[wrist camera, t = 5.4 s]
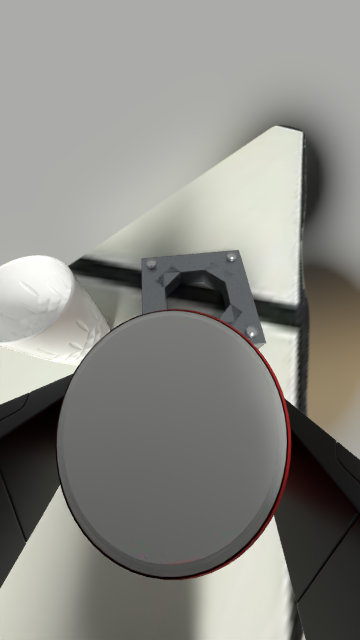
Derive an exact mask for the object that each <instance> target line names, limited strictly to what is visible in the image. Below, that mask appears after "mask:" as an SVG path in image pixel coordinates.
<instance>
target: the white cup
mask: <svg viewBox="0 0 360 640" xmlns="http://www.w3.org/2000/svg"><path fill="white" fill-rule="evenodd" d="M110 331H111V330H110V328H109V326H108V324H107V321H106V320H105V318H104V317H103V316H102V314H101V312H100V310H99V309H98V307H97V306H96V305H95V303H94V302H93V300H92V299H91V297H90V296H89V294H88V293H87V292H86V290H85V289H84V288H83V286H82V285H81V284H80V282H79V281H78V280H77V278H76V277H75V275H74V274H73V273H72V271H71V270H70V269H69V267H68V266H67V265H66V264H64V263H63V262H62V261H60V260H58V259H56V258H54V257H50V256H43V255H33V256H26V257H22V258H18V259H15V260H12V261H10V262H8V263H5V264H4V265H2V266H0V347H3V348H6V349H10V350H14V351H17V352H21V353H24V354H27V355H31V356H34V357H38V358H42V359H46V360H50V361H54V362H61V363H64V364H69V365H76V366H79V364H80V363H81V361H82V360H83V358H84V357H85V356H86V354H87V353H88V352H89V351H90V349H91V348H92V347H93V346H94V345H95V344H96V343H97V342H98V341H99V340H100V339H101V338H102V337H103V336H105V335H106V334H107V333H109V332H110Z"/></svg>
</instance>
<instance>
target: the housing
mask: <svg viewBox="0 0 360 640" xmlns="http://www.w3.org/2000/svg"><path fill="white" fill-rule="evenodd" d="M193 282H205V283H206V284H208V285H210V286H211V287H213V288H214V289H216V290H217V291H219V292H220V293H222V296H223V301H224V305H225V310H226V311H225V312H224V313H223V314H222V316H221V317H220V318H219V319H220V320H222V321H224V322H226V323H227V324H229V325H231V326H232V327H234V328H235V329H236V330H238V331H239V332H241V333H242V334H243V335H244V336H245V337H246V338H248V339H249V340H250V341H251V342H252V343H253V344H254V346H255V347H256V348H257V349H259V348H260V347H261V346H263V345H264V344H265V343H266V341H265V337H264V334H263V331H262V327H261V324H260V320H259V317H258V314H257V310H256V307H255V303H254V300H253V297H252V293H251V290H250V287H249V283H248V280H247V276H246V273H245V270H244V266H243V263H242V259H241V256H240V253H239V250H235V251H223V252H212V253H200V254H189V255H177V256H166V257H154V258H143V259H142V315H143V314H146V313H150V312H154V311H159V310H167V301H166V298H167V297H168V296H169V295H170V294H171V293H172V292H173V291H174V290H175V289H176V288H177V287H178V286H179V285H180V284H182V283H193Z"/></svg>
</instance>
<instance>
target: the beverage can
mask: <svg viewBox="0 0 360 640" xmlns="http://www.w3.org/2000/svg"><path fill="white" fill-rule="evenodd" d="M55 448H56V464H57V471H58V477H59V481H60V485H61V489H62V492H63V495H64V498H65V501H66V503H67V506H68V508H69V510H70V512H71V514H72V516H73V518H74V520H75V522H76V523H77V525H78V526H79V528H80V529H81V531H82V532H83V534H84V535H85V536H86V537H87V539H88V540H89V541H90V542H91V543H92V545H93V546H94V547H96V548H97V549H98V550H99V551H100V552H101V553H102V554H103V555H104V556H106V557H107V558H108V559H110V560H111V561H113V562H114V563H116V564H117V565H119V566H121V567H123V568H125V569H127V570H129V571H131V572H133V573H136V574H139V575H143V576H146V577H151V578H157V579H163V580H184V579H190V578H197V577H200V576H203V575H206V574H209V573H212V572H214V571H216V570H218V569H220V568H222V567H224V566H226V565H228V564H229V563H231V562H232V561H234V560H235V559H237V558H238V557H240V556H241V555H242V554H243V553H244V552H245V551H246V550H247V549H249V548H250V547H251V546H252V545H253V544H254V542H255V541H256V540H257V539H258V538H259V536H260V535H261V534H262V533H263V531H264V530H265V528H266V527H267V525H268V524H269V522H270V521H271V519H272V517H273V515H274V513H275V511H276V509H277V507H278V505H279V503H280V500H281V497H282V495H283V492H284V489H285V485H286V481H287V477H288V472H289V466H290V459H291V429H290V421H289V415H288V410H287V406H286V402H285V399H284V396H283V392H282V390H281V387H280V385H279V382H278V380H277V378H276V376H275V374H274V372H273V370H272V369H271V367H270V365H269V364H268V362H267V361H266V359H265V358H264V356H263V355H262V354H261V353H260V351H259V350H258V349H257V348H256V347H255V346H254V344H253V343H252V342H251V341H250V340H249V339H248V338H246V337H245V336H244V335H243V334H242V333H241V332H239V331H238V330H236V329H235V328H234V327H232V326H231V325H229V324H227V323H226V322H224V321H222V320H220V319H218V318H215V317H213V316H210V315H207V314H204V313H200V312H196V311H191V310H181V309H168V310H159V311H154V312H150V313H146V314H143V315H140V316H137V317H135V318H132V319H130V320H128V321H126V322H124V323H122V324H120V325H119V326H117V327H116V328H114V329H112V330H111V331H110V332H109V333H107V334H106V335H105V336H103V337H102V338H101V339H100V340H99V341H98V342H97V343H96V344H95V345H94V346H93V347H92V348H91V349H90V351H89V352H88V353H87V354H86V356H85V357H84V358H83V360H82V361H81V363H80V364H79V366H78V367H77V369H76V370H75V372H74V374H73V376H72V378H71V380H70V382H69V384H68V387H67V389H66V392H65V394H64V397H63V400H62V404H61V407H60V412H59V416H58V422H57V429H56V445H55Z"/></svg>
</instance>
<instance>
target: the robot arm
mask: <svg viewBox="0 0 360 640" xmlns="http://www.w3.org/2000/svg"><path fill="white" fill-rule="evenodd" d="M72 376H73V374H71V375H69V376H67V377H64V378H62V379H60V380H57V381H55V382H53V383H50V384H48V385H46V386H43V387H41V388H39V389H36V390H34V391H32V392H30V393H27V394H25V395H22V396H20V397H18V398H15V399H13V400H10V401H8V402H6V403H3V404H1V405H0V588H1V586H2V584H3V583H4V581H5V579H6V578H7V576H8V574H9V572H10V571H11V569H12V567H13V565H14V564H15V562H16V560H17V559H18V557H19V555H20V553H21V552H22V550H23V548H24V546H25V545H26V542H27V541H28V539H29V537H30V536H31V534H32V532H33V531H34V529H35V527H36V525H37V524H38V522H39V520H40V518H41V517H42V515H43V513H44V512H45V510H46V508H47V506H48V505H49V503H50V501H51V499H52V498H53V496H54V494H55V493H56V491H57V489H58V487H59V486H60V481H59V477H58V471H57V464H56V448H55V445H56V429H57V422H58V416H59V412H60V407H61V404H62V400H63V397H64V394H65V392H66V389H67V387H68V384H69V382H70V380H71V378H72ZM284 399H285V398H284ZM285 402H286V406H287V410H288V415H289V421H290V429H291V459H290V466H289V472H288V477H287V481H286V485H285V489H284V492H283V495H282V497H281V500H280V503H279V505H278V507H277V509H276V511H275V513H274V517H275V521H276V525H277V529H278V533H279V537H280V541H281V545H282V548H283V552H284V556H285V560H286V564H287V568H288V572H289V576H290V580H291V584H292V587H293V591H294V595H295V599H296V602H297V603H298V604H297V608H298V612H299V615H300V619H301V623H302V627H303V631H304V635H305V639H306V640H360V460H359V459H358V458H357V457H355V456H354V455H353V454H352V453H351V452H349V451H348V450H347V449H345V447H343V446H342V445H341V444H340V443H338V442H337V443H336V440H335V439H334V438H332V437H331V436H330V435H329V434H327V433H326V432H325V431H324V430H323V429H321V428H320V427H319V426H318V425H316V424H315V423H314V422H313V421H311V420H310V419H309V418H308V417H307V416H305V415H304V414H303V413H302V412H301V411H299V410H298V409H297V408H296V407H295V406H293V405H292V404H291V403H290V402H288V401H287V400H286V399H285Z"/></svg>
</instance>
